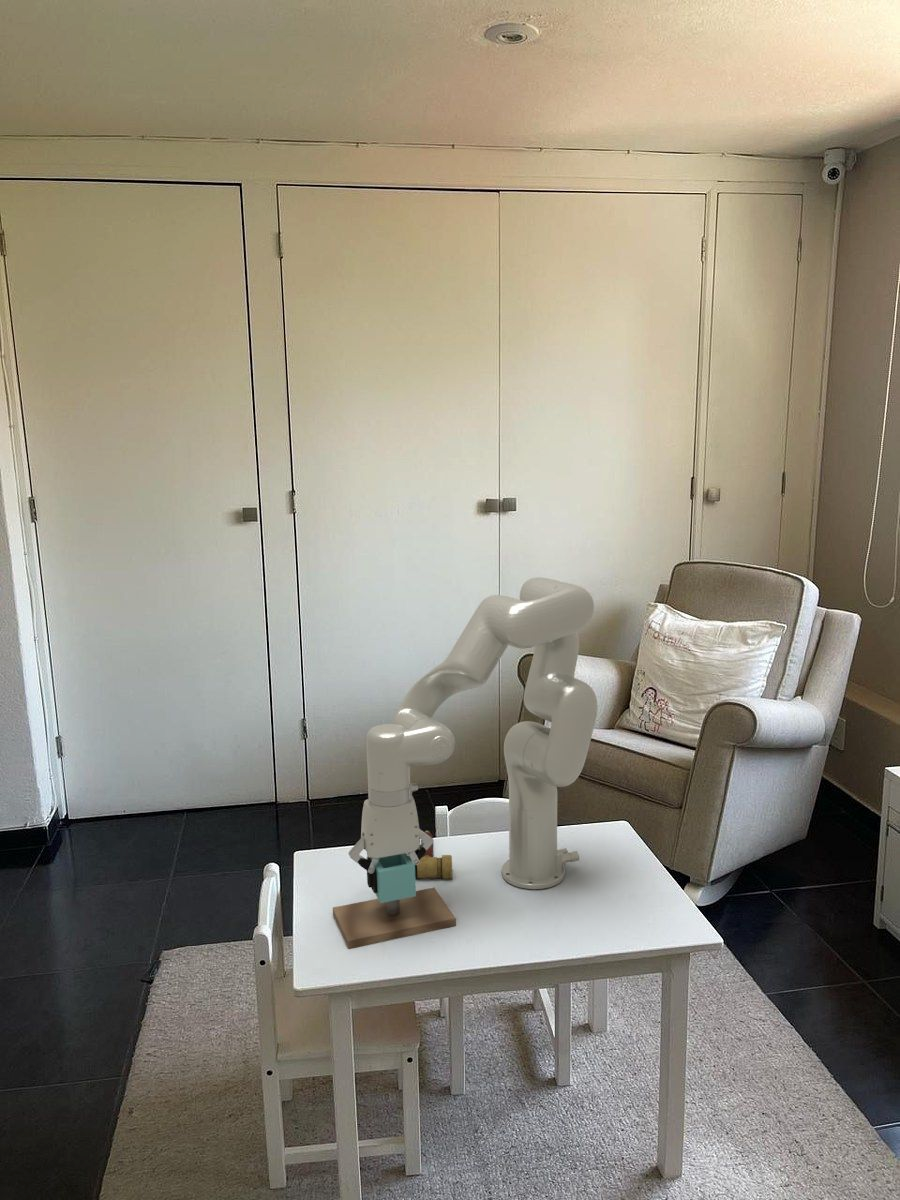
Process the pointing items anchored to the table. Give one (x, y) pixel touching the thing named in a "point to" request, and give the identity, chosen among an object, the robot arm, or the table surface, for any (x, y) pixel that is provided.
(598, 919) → the table surface
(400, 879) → the collar
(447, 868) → the gavel
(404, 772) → the robot arm
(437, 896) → the post stand
